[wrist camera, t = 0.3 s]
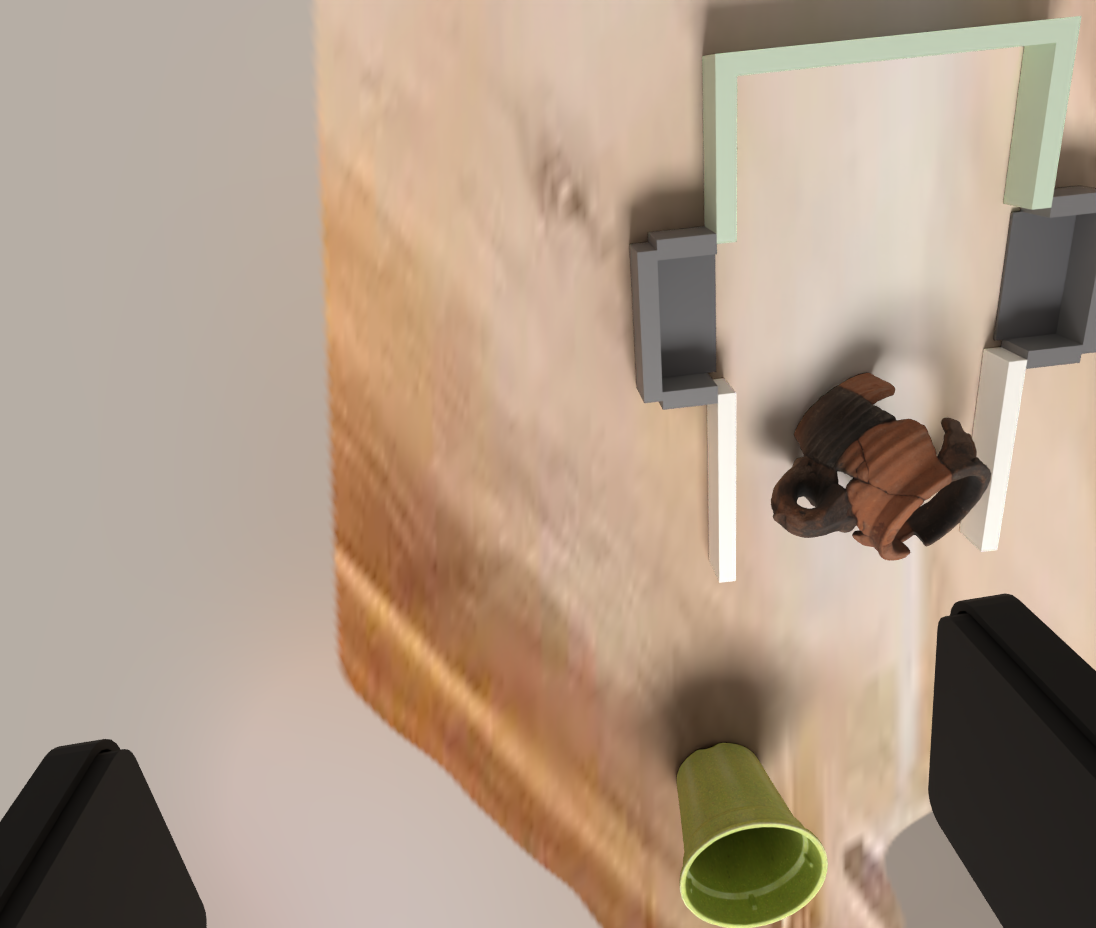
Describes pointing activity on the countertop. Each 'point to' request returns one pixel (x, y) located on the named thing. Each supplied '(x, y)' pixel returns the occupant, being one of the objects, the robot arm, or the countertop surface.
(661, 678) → the countertop surface
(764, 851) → the plant pot
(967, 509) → the pottery mug
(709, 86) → the pale green flat frame
